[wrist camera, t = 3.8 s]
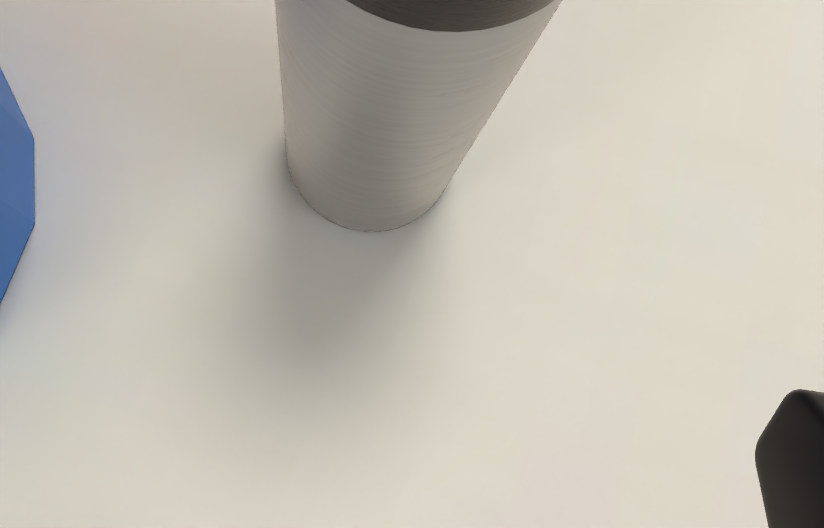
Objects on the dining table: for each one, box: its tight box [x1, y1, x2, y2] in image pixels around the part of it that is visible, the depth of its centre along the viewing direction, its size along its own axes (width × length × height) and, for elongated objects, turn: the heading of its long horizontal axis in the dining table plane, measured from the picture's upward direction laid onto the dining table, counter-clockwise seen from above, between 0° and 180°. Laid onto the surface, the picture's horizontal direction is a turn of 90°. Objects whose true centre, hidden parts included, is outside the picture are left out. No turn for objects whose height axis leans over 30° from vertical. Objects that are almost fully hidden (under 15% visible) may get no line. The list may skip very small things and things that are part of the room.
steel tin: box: [275, 0, 562, 232], centre depth 16 cm, size 5×5×12 cm
